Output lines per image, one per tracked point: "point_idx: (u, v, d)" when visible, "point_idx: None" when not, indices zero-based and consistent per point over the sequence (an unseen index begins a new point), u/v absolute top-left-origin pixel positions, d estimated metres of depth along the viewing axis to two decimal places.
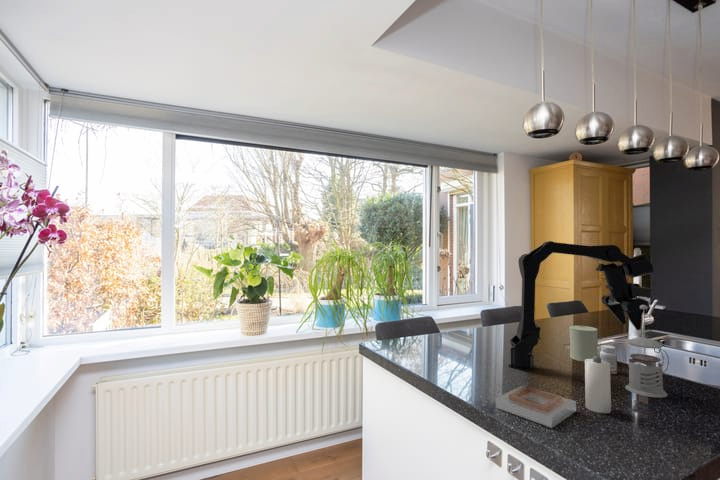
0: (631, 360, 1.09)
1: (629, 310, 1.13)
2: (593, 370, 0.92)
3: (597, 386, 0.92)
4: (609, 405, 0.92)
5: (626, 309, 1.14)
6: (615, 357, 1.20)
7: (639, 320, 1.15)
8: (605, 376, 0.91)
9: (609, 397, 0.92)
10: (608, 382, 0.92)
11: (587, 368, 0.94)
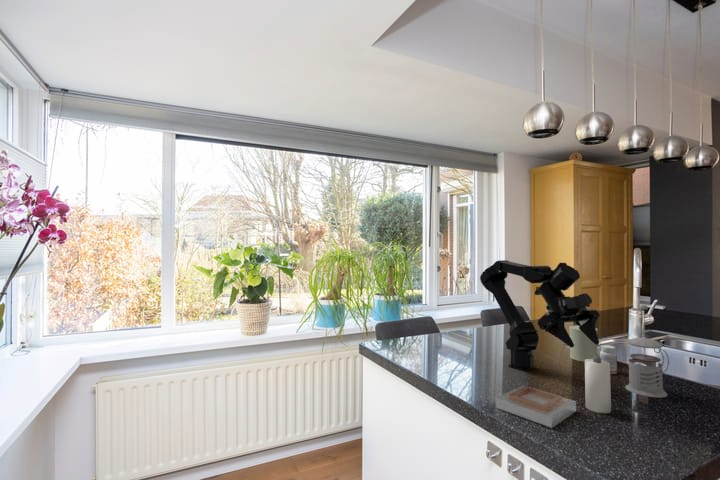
0: (631, 360, 1.09)
1: (540, 328, 1.07)
2: (593, 370, 0.92)
3: (597, 386, 0.92)
4: (609, 405, 0.92)
5: None
6: (615, 357, 1.20)
7: (564, 336, 1.03)
8: (605, 376, 0.91)
9: (609, 397, 0.92)
10: (608, 382, 0.92)
11: (587, 368, 0.94)
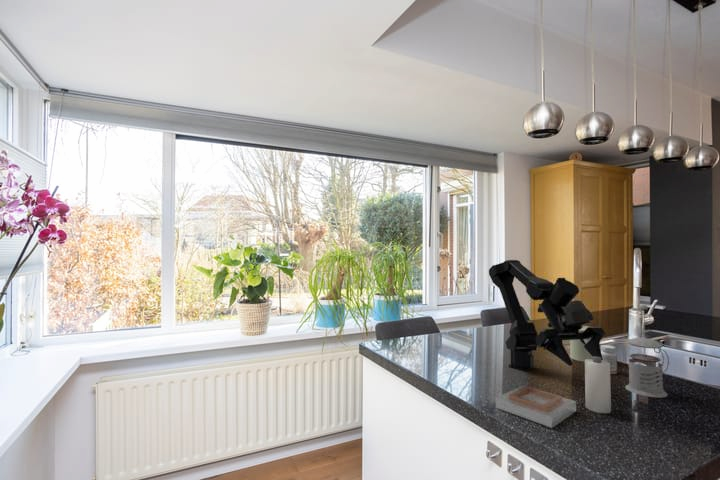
0: (631, 360, 1.09)
1: (538, 345, 1.04)
2: (593, 370, 0.92)
3: (597, 386, 0.92)
4: (609, 405, 0.92)
5: None
6: (615, 357, 1.20)
7: (562, 353, 0.99)
8: (605, 376, 0.91)
9: (609, 397, 0.92)
10: (608, 382, 0.92)
11: (587, 368, 0.94)
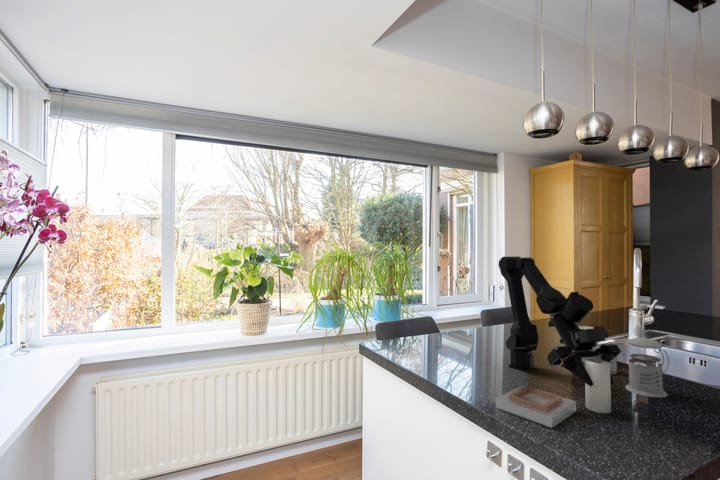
0: (631, 360, 1.09)
1: (550, 363, 0.99)
2: (593, 370, 0.92)
3: (597, 386, 0.92)
4: (609, 405, 0.92)
5: None
6: (615, 357, 1.20)
7: (582, 373, 0.94)
8: (605, 376, 0.91)
9: (609, 397, 0.92)
10: (608, 382, 0.92)
11: (587, 368, 0.94)
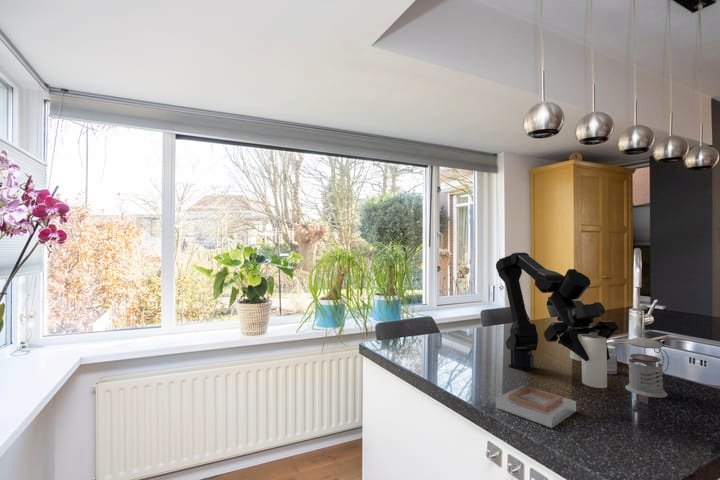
0: (631, 360, 1.09)
1: None
2: (589, 345, 0.92)
3: (593, 361, 0.92)
4: (605, 380, 0.91)
5: None
6: (615, 357, 1.20)
7: (578, 348, 0.94)
8: (601, 350, 0.91)
9: (605, 372, 0.91)
10: (604, 357, 0.92)
11: (583, 343, 0.94)
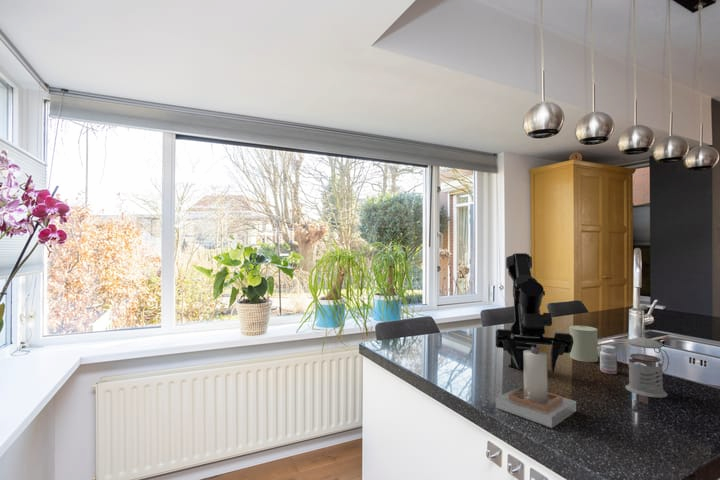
0: (631, 360, 1.09)
1: None
2: (525, 359, 0.93)
3: (528, 375, 0.92)
4: (541, 396, 0.91)
5: None
6: (615, 357, 1.20)
7: (513, 355, 0.96)
8: (535, 366, 0.91)
9: (541, 389, 0.91)
10: (540, 373, 0.91)
11: (523, 357, 0.95)
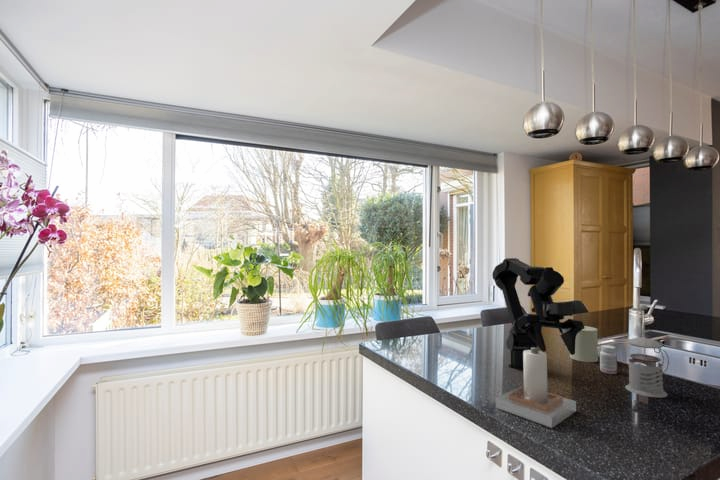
0: (631, 360, 1.09)
1: (517, 327, 1.07)
2: (525, 359, 0.93)
3: (527, 375, 0.93)
4: (541, 396, 0.91)
5: None
6: (615, 357, 1.20)
7: (538, 339, 1.03)
8: (535, 366, 0.91)
9: (540, 389, 0.91)
10: (539, 373, 0.91)
11: (523, 357, 0.95)
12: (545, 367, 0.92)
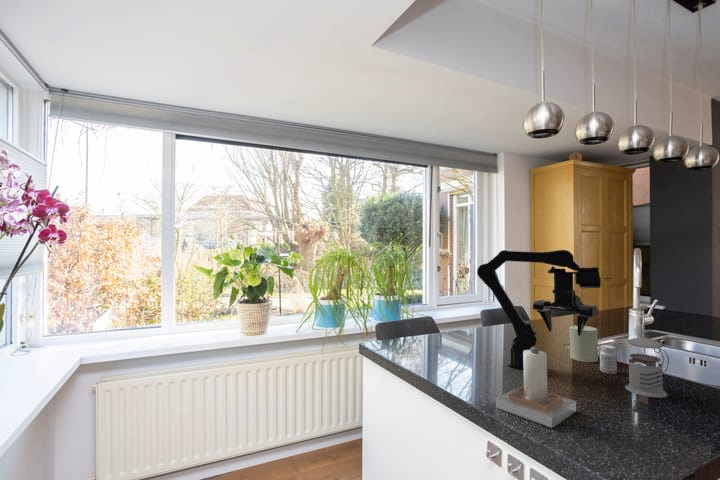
0: (631, 360, 1.09)
1: (591, 315, 1.13)
2: (525, 359, 0.93)
3: (527, 375, 0.93)
4: (541, 396, 0.91)
5: (587, 314, 1.14)
6: (615, 357, 1.20)
7: (583, 326, 1.18)
8: (535, 366, 0.91)
9: (540, 389, 0.91)
10: (539, 373, 0.91)
11: (523, 357, 0.95)
12: (545, 367, 0.92)
